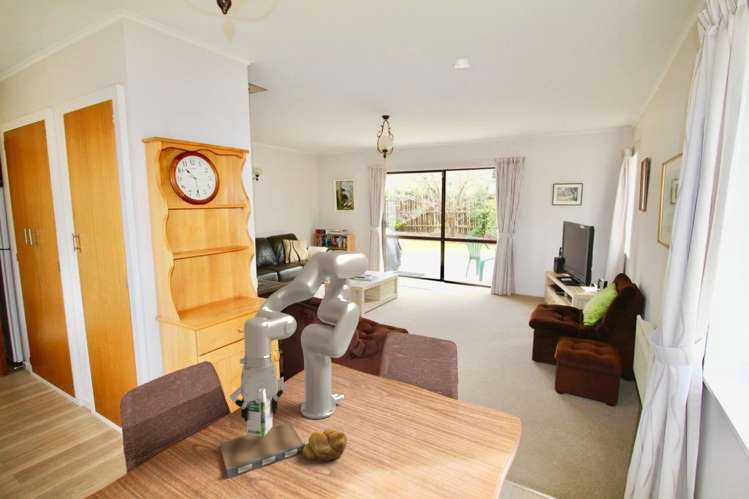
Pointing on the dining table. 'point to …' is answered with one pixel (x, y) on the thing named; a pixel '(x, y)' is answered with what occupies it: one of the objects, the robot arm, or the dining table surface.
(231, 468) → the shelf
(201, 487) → the dining table surface
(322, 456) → the bread roll
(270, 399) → the syrup box
